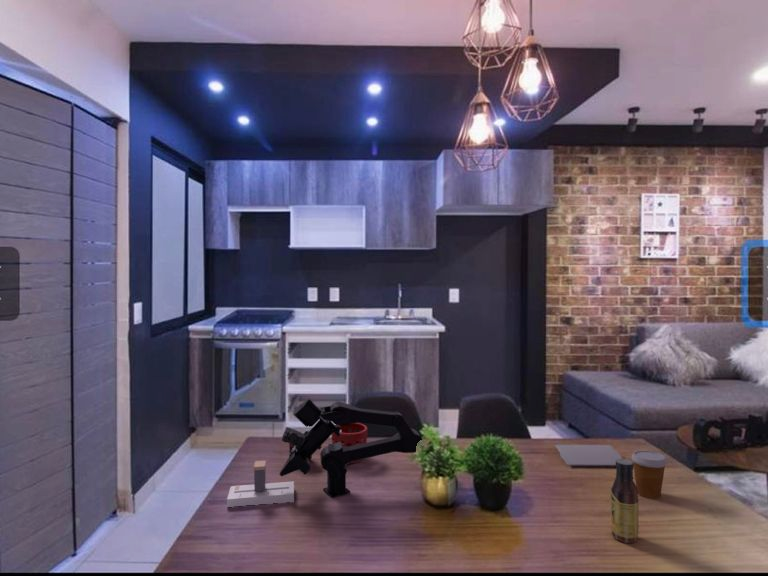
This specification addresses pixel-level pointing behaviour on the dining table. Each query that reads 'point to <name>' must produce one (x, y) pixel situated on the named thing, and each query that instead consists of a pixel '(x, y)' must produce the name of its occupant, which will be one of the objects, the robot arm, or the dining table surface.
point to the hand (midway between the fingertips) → (280, 474)
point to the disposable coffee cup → (649, 472)
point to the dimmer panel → (261, 494)
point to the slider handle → (259, 475)
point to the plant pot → (351, 435)
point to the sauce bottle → (624, 503)
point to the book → (589, 455)
